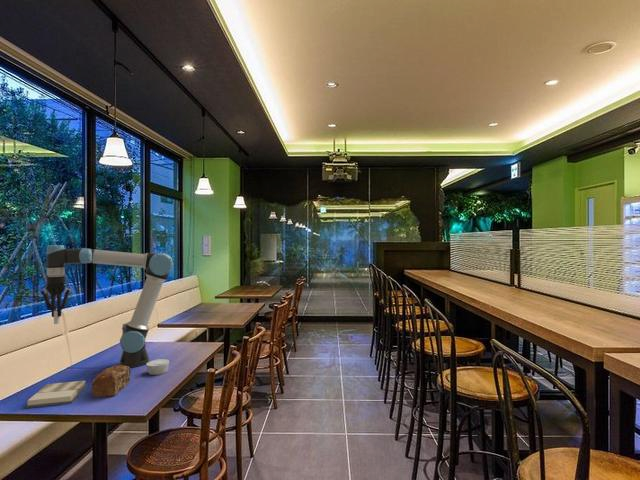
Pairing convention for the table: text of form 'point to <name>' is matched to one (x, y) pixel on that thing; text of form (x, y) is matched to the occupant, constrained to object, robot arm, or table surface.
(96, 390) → the bread
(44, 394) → the floor base
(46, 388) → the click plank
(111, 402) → the table surface
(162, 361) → the ramekin
